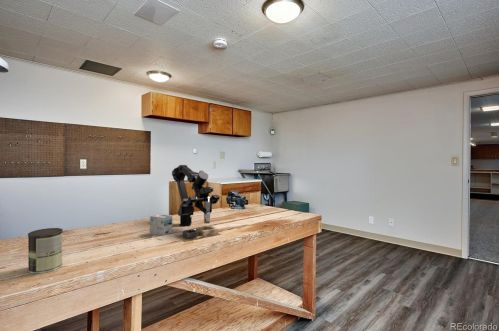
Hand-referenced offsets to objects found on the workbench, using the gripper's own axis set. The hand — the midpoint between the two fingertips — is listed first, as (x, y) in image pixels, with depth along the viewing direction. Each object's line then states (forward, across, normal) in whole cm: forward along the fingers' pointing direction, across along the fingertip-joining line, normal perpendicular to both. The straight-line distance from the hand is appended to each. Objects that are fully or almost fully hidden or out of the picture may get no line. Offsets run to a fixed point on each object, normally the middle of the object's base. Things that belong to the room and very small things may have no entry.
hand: (208, 212), depth 140 cm
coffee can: (+10, -70, +9) cm, 71 cm away
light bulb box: (-3, -20, +22) cm, 30 cm away
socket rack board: (+9, -5, +10) cm, 14 cm away
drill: (+3, 0, +5) cm, 6 cm away
